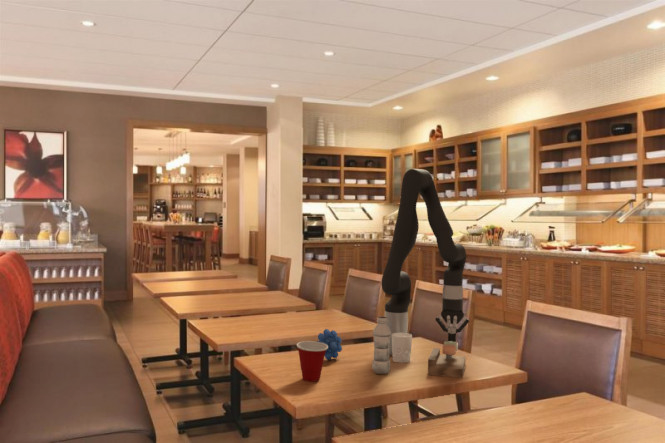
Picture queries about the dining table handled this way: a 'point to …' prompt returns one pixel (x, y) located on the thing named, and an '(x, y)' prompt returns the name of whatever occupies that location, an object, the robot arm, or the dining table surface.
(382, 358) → the plastic bottle
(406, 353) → the white cup
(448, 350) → the peach rounded block
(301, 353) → the plastic cup
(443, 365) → the brown wooden block
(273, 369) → the dining table surface
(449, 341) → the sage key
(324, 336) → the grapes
